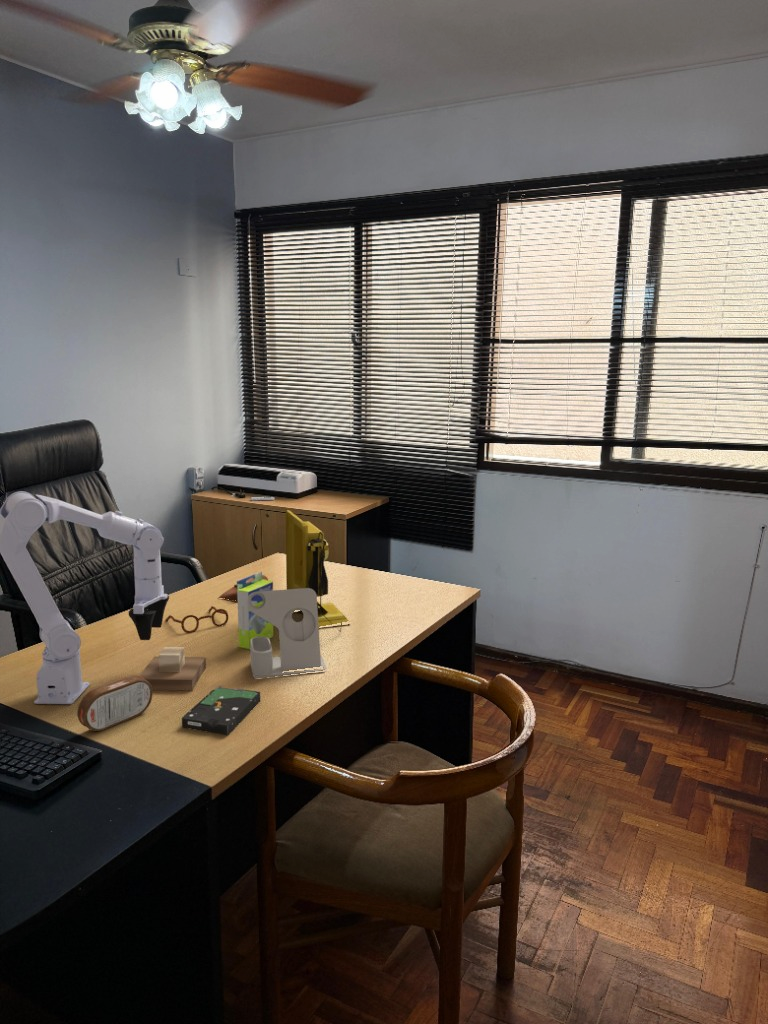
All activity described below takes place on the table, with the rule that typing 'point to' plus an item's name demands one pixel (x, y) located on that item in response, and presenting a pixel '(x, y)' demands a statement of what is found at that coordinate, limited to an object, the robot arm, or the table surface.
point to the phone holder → (287, 633)
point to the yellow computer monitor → (309, 565)
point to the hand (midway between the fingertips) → (150, 633)
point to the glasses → (201, 618)
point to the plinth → (175, 674)
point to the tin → (114, 703)
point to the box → (247, 620)
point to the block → (171, 659)
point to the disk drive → (221, 710)
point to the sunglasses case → (232, 592)
